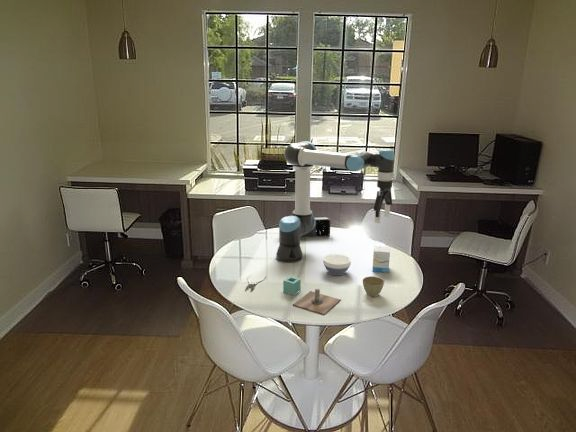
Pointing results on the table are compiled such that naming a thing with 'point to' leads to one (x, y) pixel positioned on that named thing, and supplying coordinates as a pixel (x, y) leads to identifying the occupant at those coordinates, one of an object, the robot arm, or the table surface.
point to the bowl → (336, 264)
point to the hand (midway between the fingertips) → (382, 219)
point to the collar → (291, 285)
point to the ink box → (381, 259)
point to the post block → (317, 302)
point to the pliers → (250, 286)
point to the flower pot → (373, 285)
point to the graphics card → (319, 228)
